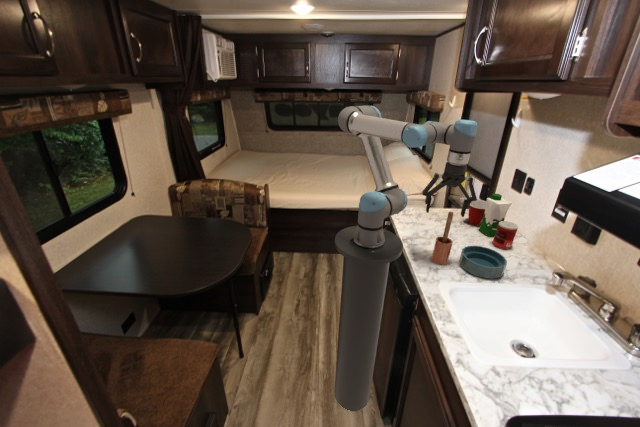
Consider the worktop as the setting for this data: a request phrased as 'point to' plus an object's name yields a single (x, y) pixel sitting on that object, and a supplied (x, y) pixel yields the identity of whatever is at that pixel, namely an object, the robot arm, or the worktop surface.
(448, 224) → the stick
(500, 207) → the milk carton
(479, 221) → the plastic cup
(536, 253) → the worktop surface
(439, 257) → the crock
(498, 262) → the bowl
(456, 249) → the worktop surface
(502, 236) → the canned food
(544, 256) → the worktop surface
